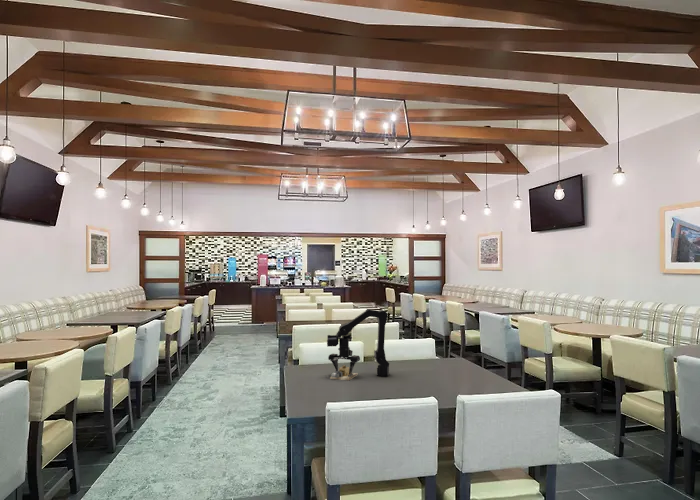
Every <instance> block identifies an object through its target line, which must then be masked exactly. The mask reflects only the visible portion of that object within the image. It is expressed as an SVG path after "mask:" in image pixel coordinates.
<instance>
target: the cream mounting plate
mask: <svg viewBox="0 0 700 500" xmlns="http://www.w3.org/2000/svg"><path fill="white" fill-rule="evenodd" d="M348 367H349V375H348V376H342V377H338V378H336V377H332V376H331V375H330V376H329V379H330V380H331V379H332V380H339V381H340V380H341V381H350V380H352V379H353V378H355V377H357V376H358V372H352V373H350V366H348Z"/></svg>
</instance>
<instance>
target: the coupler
mask: <svg viewBox="0 0 700 500" xmlns="http://www.w3.org/2000/svg"><path fill="white" fill-rule="evenodd" d="M349 367H350V366H346V365H345V364H343V365H341V366H340V367H338V371H341V372H342V376H348V375H349Z"/></svg>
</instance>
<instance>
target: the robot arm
mask: <svg viewBox="0 0 700 500" xmlns="http://www.w3.org/2000/svg"><path fill="white" fill-rule="evenodd" d="M369 317H373V318H376V321H377V324H378V325H377V345H376V346H377V347H376V349H374V351H373V353H374V354H373V358H374V360H375V361H376V363H377V364H378V365H377V368H376V377H381V378H388V377H389V376H391V374H390V362H388V360H387V359H386V358H387V357H386V353H385V352H386V351H385V338H386V337H385V333H386V325H387V321H388V317H389V315H388V312H386V311H385V310H383V309H380V310H374V309H370V308H368V309H367V308H366V309H365V310H364V311H363V312H362V313H361V314H359V315H357V316H355V318H353V319H352V320H350V321H348V322H345V323H343V324H341V325H340V326H339V327H338V331H337V332H336V334H333V335H332V334H331V335H330V334H328V335H327V338H326V346H327V347H337V346H338V345H339V348H338V352H339V353H331V354H329V355H328V361H330V362H331V363H332V365H333V366H334V367H333V368H335V371H336V370H338V371H339V360H350V362H349V367H350V373H353V370H354V367H355V365H356V363H358V362H359V361H360V360H361V357H360V355H354V354H353V353H354V352H353V350H351V348H350V346H349V345H350V343H349V342H350V339H353V337H352V336H351V335H350V334H349V333H351V332H352V330H353V329H354V328H355V327H356V326H357V325H359V324H360V323H362V322H364V321H365V320H366V319H368V318H369Z"/></svg>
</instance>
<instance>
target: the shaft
mask: <svg viewBox="0 0 700 500" xmlns="http://www.w3.org/2000/svg"><path fill="white" fill-rule="evenodd" d="M331 376H332V377H336V378H338V377H342V372H341V371H339V369H338V370H336V369H335V371H333V372H332V373H331V374H330V377H331Z"/></svg>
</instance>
